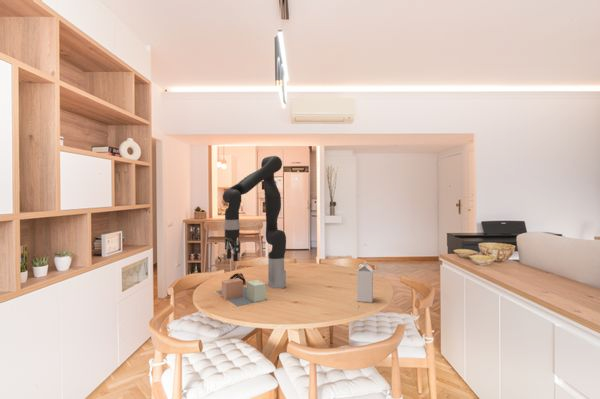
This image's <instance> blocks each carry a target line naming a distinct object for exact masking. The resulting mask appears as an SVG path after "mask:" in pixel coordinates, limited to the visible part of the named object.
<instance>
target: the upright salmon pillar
mask: <svg viewBox="0 0 600 399" xmlns="http://www.w3.org/2000/svg"><path fill="white" fill-rule="evenodd" d="M243 286H244V283H243V280H241V279H239V278H235V279H234V278H233V279H230V278H229V279H225V280H224V279H223V280H221V290H222V295H221V297H223V298H224V299H225V300H228V299H230V298H235V297H240V296H243Z"/></svg>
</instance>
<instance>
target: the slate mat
mask: <svg viewBox="0 0 600 399" xmlns="http://www.w3.org/2000/svg"><path fill="white" fill-rule="evenodd" d="M216 293H218V294H219V295H221V296H222V289H220V290H217V291H216ZM227 300H228V301H229V302H231V303H232V304H233V305H234V306H236V307H243V306H246V305H250V304H251V305H253V304H256V303H257V302H253V301H252V300H250V299H248V298H247V287H245V285H243V296H240V297H235V298H230V299H227ZM265 301H268V299H267V298H266V300H263V301H259V302H258V303H261V302H265Z"/></svg>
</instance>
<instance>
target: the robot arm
mask: <svg viewBox="0 0 600 399" xmlns="http://www.w3.org/2000/svg"><path fill="white" fill-rule="evenodd" d="M260 166H261V167H259V169H257V170H256V171H254V172H252V173H249V174H248V175H247V176H245V177H244V178H243V179H241V180H240V181H239V182H238V183H236V184H234V185H232V186H231V187H229V188H227V189H226V190H225V191H224V192H223V194H222V199H223V201H224V202H225V203H226V204H228V205H227V206H228V207H227V208H226V209H225V211H224V251H226V259H227V260H231V259H232V260H233V262H238V261H239V253H241V242H240V240H238V238H240V235H241V234H240V228H241V227H240V208H241V203H242V196H243V195H246V194H248V193H249V192H250V191H252V190H253V188H255V187H257V185H259V184H260V183H261V182H263V188H264V189H263V190H264V191H263V192H264V207H265V222H266V223H265V241H266V242H267V244H269V245H271V251H269V252H268V255H267V256H268V258H267V259H268V262H267V263H268V264H267V265H268V266H267V267H268V273H267V274H268V276H267V278H268V281H267V282H268V287H269V288H271V289H284V288H287V271H286V270H285V255H286V251H287V236H286V233H285V232H284V231H283V230H282V229H278V218H279V216H280V213H281V209H282V200H281V199H282V197H281V193H280V190H279V188H278V187H277V183H276V182H275V174H276V173H277V172H279V171H280V170H281V168H282V166H283V160H282V159H281V157H279V156H277V155H271V156H267V157H264V158H263V159H262V160H261V164H260ZM232 256H233V257H232Z"/></svg>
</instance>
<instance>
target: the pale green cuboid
mask: <svg viewBox="0 0 600 399" xmlns="http://www.w3.org/2000/svg"><path fill="white" fill-rule="evenodd" d="M266 286H267V285H266V283H265V282H263V281H261V280H258V279H254V280H250V281H249V280H248V281H246V288H247V298H248V299H250V300H252V301H253V302H256V303H260V302H259V301H261V302H264V301H263V300H266V299H267V297H266V296H267V295H266V294H267V293H266V291H267V288H266ZM266 301H267V300H266Z"/></svg>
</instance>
